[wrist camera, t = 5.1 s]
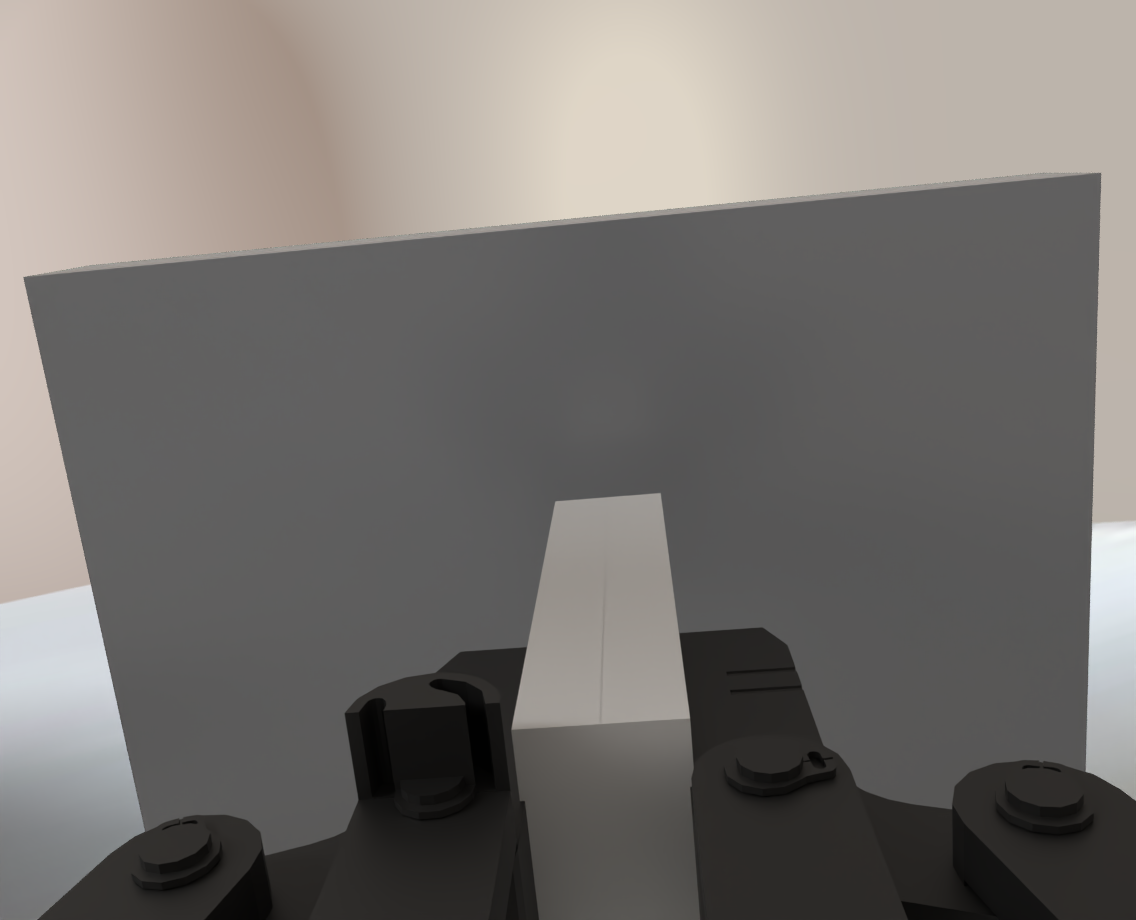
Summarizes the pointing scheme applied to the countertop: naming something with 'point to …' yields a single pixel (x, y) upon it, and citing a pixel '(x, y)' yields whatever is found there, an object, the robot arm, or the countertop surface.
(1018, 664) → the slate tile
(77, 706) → the countertop surface
